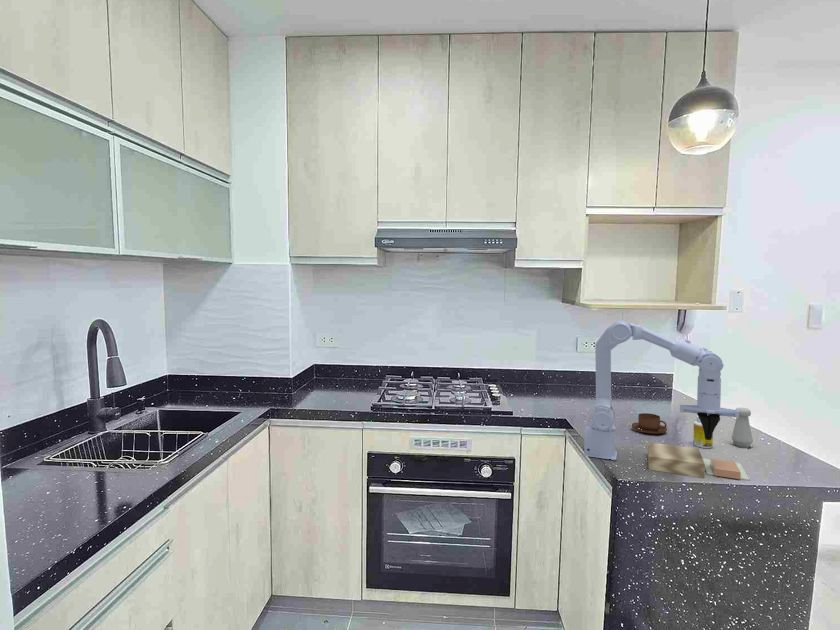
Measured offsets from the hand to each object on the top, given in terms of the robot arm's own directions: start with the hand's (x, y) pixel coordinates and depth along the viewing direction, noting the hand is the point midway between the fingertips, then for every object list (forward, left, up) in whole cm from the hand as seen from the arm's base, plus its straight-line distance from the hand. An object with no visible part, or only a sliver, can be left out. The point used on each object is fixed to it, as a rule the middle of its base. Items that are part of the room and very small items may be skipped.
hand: (707, 438), depth 129 cm
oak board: (-8, 0, -9) cm, 13 cm away
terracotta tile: (+4, 0, -7) cm, 8 cm away
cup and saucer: (-15, +35, -10) cm, 39 cm away
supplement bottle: (+2, +24, -10) cm, 26 cm away
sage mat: (+5, +3, -9) cm, 11 cm away
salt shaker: (+14, +30, -10) cm, 34 cm away
